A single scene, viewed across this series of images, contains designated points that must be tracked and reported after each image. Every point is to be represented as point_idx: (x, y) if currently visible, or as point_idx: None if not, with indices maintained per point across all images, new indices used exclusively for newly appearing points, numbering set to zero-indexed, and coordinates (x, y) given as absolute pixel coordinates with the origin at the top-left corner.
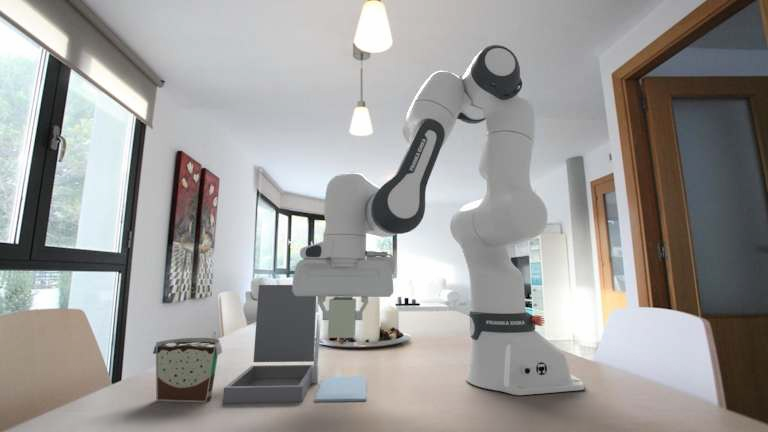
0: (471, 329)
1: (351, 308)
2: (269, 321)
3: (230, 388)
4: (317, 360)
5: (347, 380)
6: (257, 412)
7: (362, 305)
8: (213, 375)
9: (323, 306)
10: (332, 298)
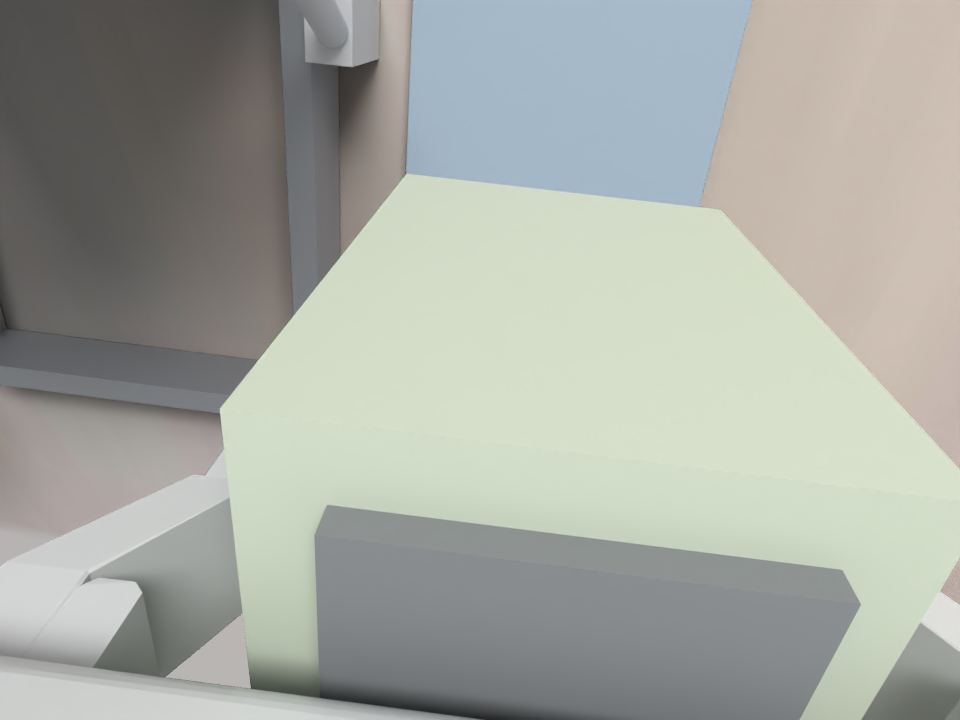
0: None
1: None
2: None
3: None
4: (330, 15)
5: (593, 75)
6: (192, 468)
7: (889, 713)
8: None
9: (196, 650)
10: (263, 598)
